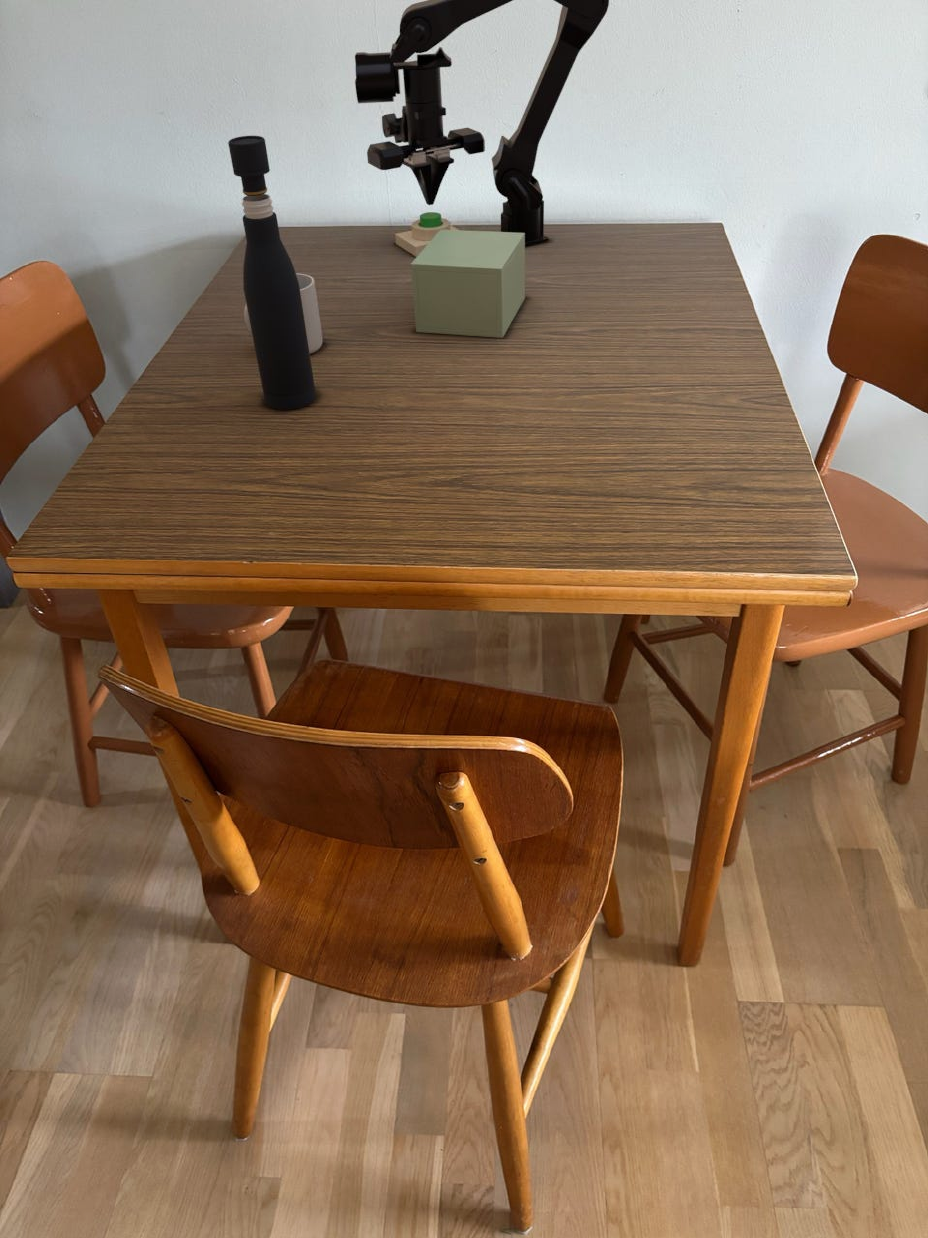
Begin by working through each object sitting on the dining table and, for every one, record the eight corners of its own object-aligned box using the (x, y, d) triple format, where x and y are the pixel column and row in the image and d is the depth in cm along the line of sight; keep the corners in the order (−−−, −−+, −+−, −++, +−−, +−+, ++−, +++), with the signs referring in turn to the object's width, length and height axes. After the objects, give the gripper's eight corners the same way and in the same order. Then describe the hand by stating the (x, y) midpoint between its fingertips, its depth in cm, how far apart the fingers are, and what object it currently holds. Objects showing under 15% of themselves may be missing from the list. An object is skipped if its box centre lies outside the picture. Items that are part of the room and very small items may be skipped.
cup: (325, 354, 131) (316, 289, 125) (252, 363, 129) (239, 298, 124) (321, 333, 136) (312, 270, 130) (250, 342, 135) (238, 279, 129)
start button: (435, 221, 164) (435, 210, 162) (445, 226, 161) (444, 215, 160) (416, 225, 162) (416, 214, 161) (426, 230, 160) (425, 219, 159)
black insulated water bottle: (274, 415, 117) (225, 150, 98) (258, 394, 122) (208, 138, 103) (323, 402, 119) (284, 140, 100) (305, 382, 124) (265, 129, 105)
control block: (447, 232, 168) (446, 212, 166) (468, 245, 163) (468, 223, 160) (395, 243, 165) (394, 222, 162) (416, 256, 159) (414, 235, 157)
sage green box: (444, 293, 146) (440, 229, 140) (524, 298, 143) (524, 232, 137) (415, 332, 135) (410, 263, 129) (502, 338, 132) (501, 268, 126)
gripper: (452, 83, 158) (457, 183, 168) (348, 99, 152) (359, 202, 162) (485, 94, 151) (487, 198, 160) (377, 112, 144) (386, 219, 154)
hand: (430, 204), depth 159 cm, fingers closed
